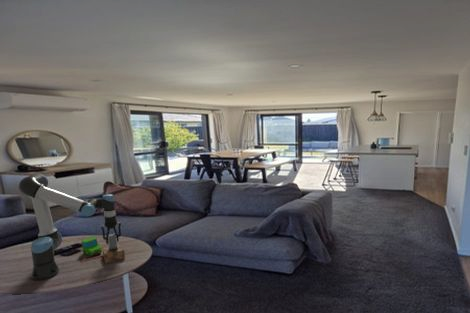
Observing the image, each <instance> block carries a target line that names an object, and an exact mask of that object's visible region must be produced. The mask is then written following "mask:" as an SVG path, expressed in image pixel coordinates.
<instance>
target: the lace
mask: <svg viewBox="0 0 470 313" xmlns="http://www.w3.org/2000/svg"><path fill="white" fill-rule="evenodd" d="M102 257H103V254H101V255H98V256H94V257H90V258H88V259H87V257H85V258H84V259H82V260H81V261H80V263H83V262H88V261H91V260H96V259H98V258H102Z"/></svg>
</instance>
